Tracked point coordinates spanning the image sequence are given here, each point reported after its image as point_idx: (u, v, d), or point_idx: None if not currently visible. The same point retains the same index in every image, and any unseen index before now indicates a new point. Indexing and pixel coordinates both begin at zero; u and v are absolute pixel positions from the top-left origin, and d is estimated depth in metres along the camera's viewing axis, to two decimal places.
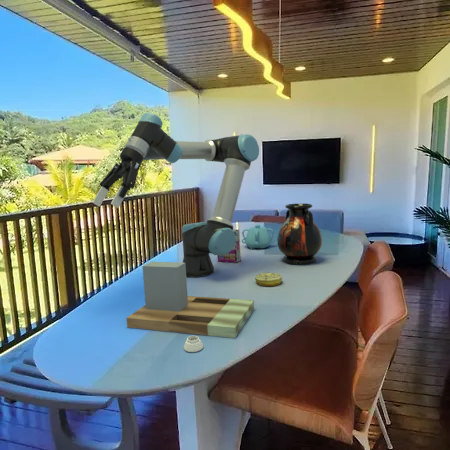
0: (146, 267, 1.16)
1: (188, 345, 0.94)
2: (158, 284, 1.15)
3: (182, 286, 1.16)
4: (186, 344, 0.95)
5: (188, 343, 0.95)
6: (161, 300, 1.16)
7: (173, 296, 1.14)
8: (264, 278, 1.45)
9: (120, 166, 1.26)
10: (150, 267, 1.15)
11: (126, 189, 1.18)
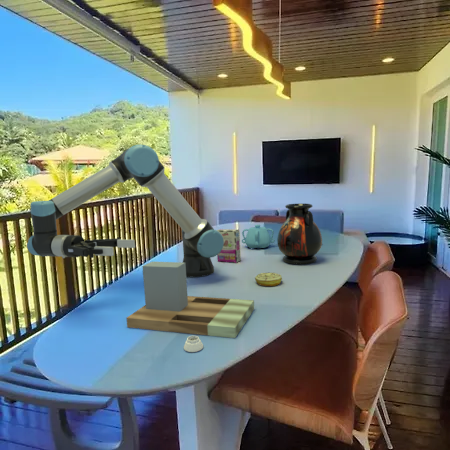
0: (146, 267, 1.16)
1: (188, 345, 0.94)
2: (158, 284, 1.15)
3: (182, 286, 1.16)
4: (186, 344, 0.95)
5: (188, 343, 0.95)
6: (161, 300, 1.16)
7: (173, 296, 1.14)
8: (264, 278, 1.45)
9: None
10: (150, 267, 1.15)
11: (92, 251, 1.15)
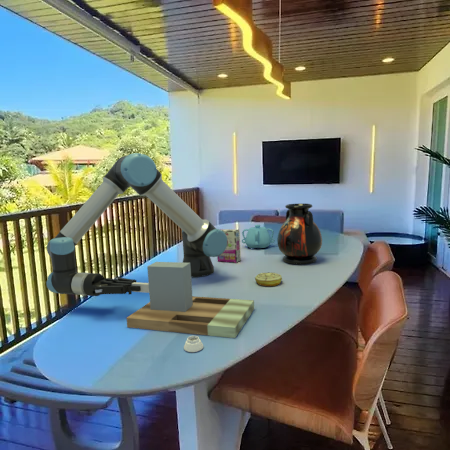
0: (151, 267, 1.15)
1: (188, 345, 0.94)
2: (163, 284, 1.15)
3: (187, 287, 1.16)
4: (186, 344, 0.95)
5: (188, 343, 0.95)
6: (166, 301, 1.15)
7: (178, 296, 1.14)
8: (264, 278, 1.45)
9: None
10: (155, 267, 1.15)
11: (130, 288, 1.18)
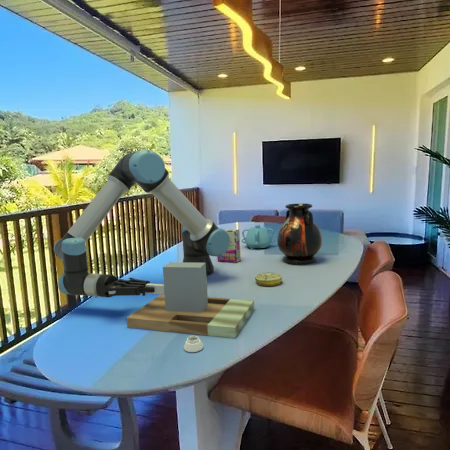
0: (167, 268, 1.13)
1: (188, 345, 0.94)
2: (180, 285, 1.13)
3: (204, 287, 1.15)
4: (186, 344, 0.95)
5: (188, 343, 0.95)
6: (182, 302, 1.14)
7: (195, 297, 1.13)
8: (264, 278, 1.45)
9: None
10: (171, 268, 1.13)
11: (144, 289, 1.16)
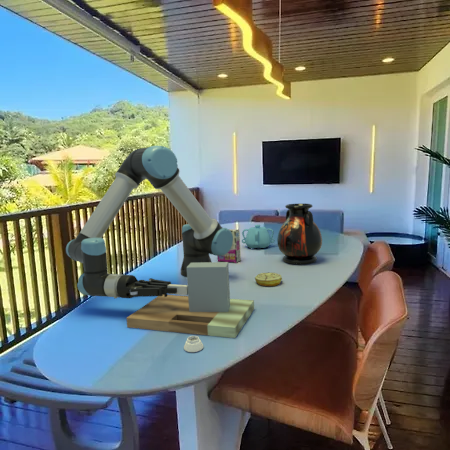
0: (191, 268, 1.12)
1: (188, 345, 0.94)
2: (204, 285, 1.12)
3: (228, 286, 1.14)
4: (186, 344, 0.95)
5: (188, 343, 0.95)
6: (206, 302, 1.12)
7: (221, 297, 1.12)
8: (264, 278, 1.45)
9: None
10: (195, 268, 1.11)
11: (166, 290, 1.14)
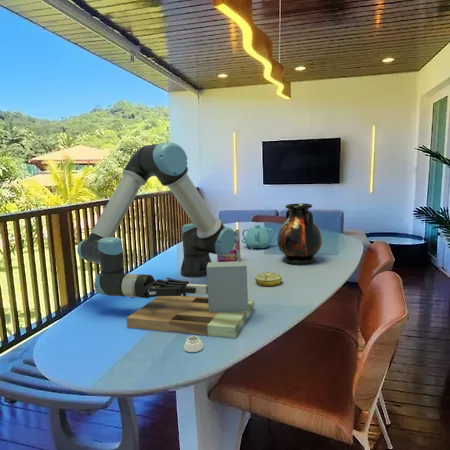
0: (211, 268, 1.11)
1: (188, 345, 0.94)
2: (225, 285, 1.11)
3: None
4: (186, 344, 0.95)
5: (188, 343, 0.95)
6: (227, 301, 1.12)
7: (241, 296, 1.12)
8: (264, 278, 1.45)
9: None
10: (215, 268, 1.11)
11: (185, 290, 1.14)
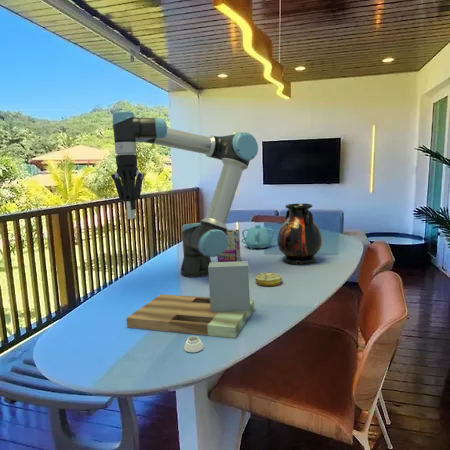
0: (212, 268, 1.11)
1: (188, 345, 0.94)
2: (226, 284, 1.11)
3: None
4: (186, 344, 0.95)
5: (188, 344, 0.94)
6: (228, 301, 1.12)
7: (243, 296, 1.12)
8: (264, 278, 1.45)
9: (123, 172, 1.35)
10: (217, 268, 1.11)
11: (134, 201, 1.38)
